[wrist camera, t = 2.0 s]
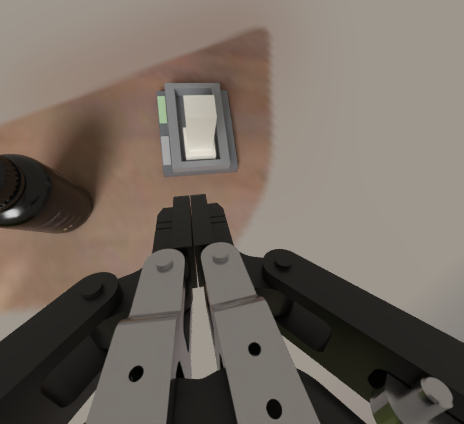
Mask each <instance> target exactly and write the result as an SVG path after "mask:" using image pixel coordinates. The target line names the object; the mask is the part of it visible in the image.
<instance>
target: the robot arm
mask: <svg viewBox="0 0 464 424" xmlns="http://www.w3.org/2000/svg"><path fill="white" fill-rule="evenodd" d="M190 197H191V206H190V198H189V195H188V196H177V197H174V198H173V207H170V208H163V209H162V210H161V212H160V213H159V214H158V216H157V224H156V230H155V237H154V244H153V251H152V254H151V255H150V256H149V257H148V258H147V259H146V260H145V262H144V265H143V268H141V269H140V270H138V271H136V272H134V273H132V274H130V275H127V276H124V277H122V278H119V279H117V277H116V276H115V275H113V274H111V273H108V272H99V273H95V274H92V275H89V276H87V277H85V278H83V279H82V280H80V281H79V282H78V283H76V284H75V285H74V286H72V287H71V288H70V289H68V290H67V291H66V292H64V293H63V294H62V295H60V296H59V297H58V298H57V299H55V300H54V301H53V302H51V303H50V304H49V305H47V306H46V307H45V308H43V309H42V310H41V311H40V312H38V313H37V314H36V315H34V316H33V317H32V318H30V319H29V320H28V321H27V322H25V323H24V324H23V325H21V326H20V327H19V328H17V329H16V330H15V331H13V332H12V333H11V334H9V335H8V336H7V337H6V338H4V339H3V340H2V341H0V424H68V422H69V421H70V420H71V419H72V418H73V416H74V415H75V414H76V413H77V412H78V411H79V409H80V408H81V407H82V406H83V404H84V403H85V402H86V401H87V400H88V398H89V397H90V396H91V395H92V394H93V392H94V391H95V390H96V392H95V395H94V398H93V402H92V405H91V408H90V411H89V415H88V417H87V421H86V422H85V423H84V424H366V423H365V422H364V421H363V420H361V419H360V418H359V417H358V416H357V415H356V414H355V413H353V412H352V411H351V410H350V409H349V408H348V407H347V406H345V405H344V404H343V403H342V402H341V401H340V400H339V399H337V398H336V397H335V396H334V395H333V394H332V393H331V392H329V391H328V390H327V389H326V388H325V387H324V386H323V385H321V384H320V383H319V382H318V381H316V380H315V379H314V378H312V377H311V376H309V375H308V374H306V373H305V372H303V371H301V370H299V369H297V368H296V367H295V365H294V363H293V361H292V358H291V356H290V354H289V352H288V350H287V347H286V345H285V343H284V341H283V338H282V336H281V335H283V336H284V337H285V338H287V339H288V340H289V341H290V342H292V343H293V344H294V345H296V346H297V347H298V348H299V349H301V350H302V351H303V352H305V353H306V354H307V355H309V356H310V357H311V358H312V359H314V360H315V361H316V362H318V363H319V364H320V365H322V366H323V367H324V368H325V369H327V370H328V371H329V372H331V373H332V374H333V375H334V376H336V377H337V378H338V379H339V380H341V381H342V382H343V383H345V384H346V385H347V386H349V387H350V388H351V389H352V390H354V391H355V392H356V393H358V394H359V395H360V396H361V397H363V398H364V399H365V400H367V401H368V402H369V403H370V406H371V411H372V414H373V417H374V419H375V421H376V423H377V424H464V343H463V342H461V341H459V340H457V339H455V338H453V337H452V336H450V335H448V334H446V333H444V332H442V331H440V330H438V329H436V328H434V327H433V326H431V325H429V324H427V323H425V322H423V321H421V320H419V319H418V318H416V317H414V316H412V315H410V314H408V313H406V312H404V311H402V310H401V309H399V308H397V307H395V306H393V305H391V304H389V303H387V302H386V301H384V300H382V299H380V298H378V297H376V296H374V295H372V294H370V293H368V292H367V291H365V290H363V289H361V288H359V287H357V286H355V285H353V284H352V283H350V282H348V281H346V280H344V279H342V278H340V277H338V276H336V275H335V274H333V273H331V272H329V271H327V270H325V269H323V268H321V267H319V266H317V265H316V264H314V263H312V262H310V261H308V260H306V259H304V258H303V257H301V256H299V255H297V254H295V253H293V252H291V251H288V250H284V249H275V250H271V251H269V252H268V253H266V254H265V256H264V258H259V257H252V256H247V255H245V254H242V253H241V252H239V251H238V249H237V248H236V247H235V246H234V244H233V241H232V238H231V234H230V231H229V227H228V224H227V220H226V217H225V213H224V210H223V208H222V207H221V206H220V205H219V204H218V203H211V204H207V200H206V194H198V195H190ZM191 211H192V215H191ZM195 257H196V259H195ZM196 265H197V273H198V281H199V287H204V292H205V300H206V308H207V313H208V318H209V324H210V329H211V335H212V340H213V345H214V351H215V356H216V364H217V369H218V371H216V372H214V373H212V374H211V375H209V376H207V377H205V378H203V379H192V372H191V371H192V370H191V333H192V301H193V294H192V288H197V287H198V286H197V273H196Z"/></svg>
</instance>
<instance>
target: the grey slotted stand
mask: <svg viewBox="0 0 464 424" xmlns="http://www.w3.org/2000/svg"><path fill="white" fill-rule="evenodd" d="M164 84H165V91H156V93H157V105H158V116H159V128H160V140H161V151H162V163H163V173H164V176H165V177H172V176H186V175H199V174H213V173H226V172H236V171H237V169H238V164H237V157H236V150H235V143H234V136H233V129H232V122H231V115H230V108H229V101H228V94H227V90H222V91H220V85H219V83H164ZM183 95H214V98H215V106H216V114H217V120H216V127H215V134H214V142H215V150H216V159H215V160H200V161H186V154H185V144H184V134H183V128H186V121H185V111H184V100H183Z"/></svg>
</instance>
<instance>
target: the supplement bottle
mask: <svg viewBox="0 0 464 424" xmlns="http://www.w3.org/2000/svg"><path fill="white" fill-rule="evenodd" d="M91 208H92V202H91V197H90V195H89V193H88V191H87V190H86V189H85V188H84V187H83V186H82V185H80V184H79V183H77V182H75V181H74V180H72V179H70V178H68V177H66V176H65V175H63V174H61V173H59V172H57V171H55V170H54V169H52V168H50V167H48V166H46V165H44V164H43V163H41V162H39V161H37V160H35V159H33V158H30V157H27V156H24V155H18V154H3V155H0V228H6V229H15V230H25V231H35V232H45V233H67V232H70V231H73V230H75V229H77V228H78V227H80V226H81V225H82V224H83V223H84V222H85V221H86V220H87V218H88V217H89V215H90V212H91Z"/></svg>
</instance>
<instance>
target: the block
mask: <svg viewBox="0 0 464 424" xmlns="http://www.w3.org/2000/svg"><path fill="white" fill-rule="evenodd" d="M183 100H184V111H185V121H186V128H183V134H184V144H185V154H186V161H200V160H215V159H216V150H215V142H214V134H215V127H216V120H217V114H216V106H215V98H214V95H183Z"/></svg>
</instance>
